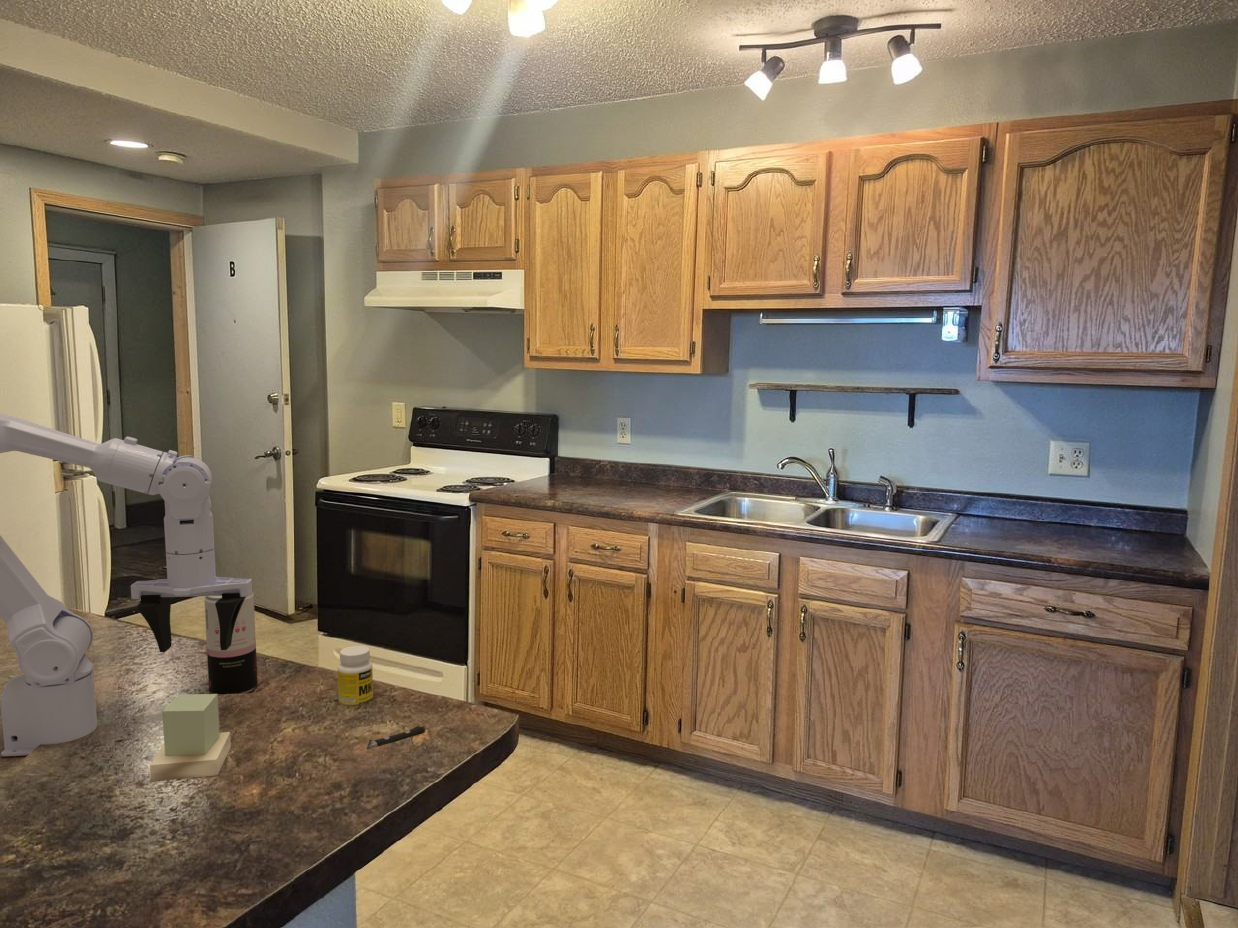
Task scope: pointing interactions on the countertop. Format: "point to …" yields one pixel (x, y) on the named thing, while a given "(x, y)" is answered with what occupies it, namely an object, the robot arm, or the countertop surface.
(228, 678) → the beverage can
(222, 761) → the tan square tile
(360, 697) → the supplement bottle
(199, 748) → the green block
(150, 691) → the countertop surface
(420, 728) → the chef's knife
